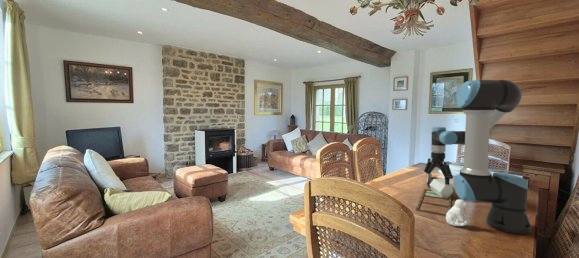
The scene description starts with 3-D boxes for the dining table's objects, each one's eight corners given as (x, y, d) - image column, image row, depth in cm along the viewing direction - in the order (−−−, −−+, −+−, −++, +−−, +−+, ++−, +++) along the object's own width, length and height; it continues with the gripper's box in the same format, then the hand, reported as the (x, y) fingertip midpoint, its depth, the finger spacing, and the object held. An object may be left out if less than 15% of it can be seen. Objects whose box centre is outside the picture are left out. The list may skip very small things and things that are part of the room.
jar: (456, 188, 149) (441, 179, 160) (447, 182, 146) (432, 174, 158) (446, 200, 150) (432, 190, 161) (437, 195, 148) (424, 185, 159)
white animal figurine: (448, 220, 118) (448, 195, 117) (470, 226, 112) (471, 199, 111) (444, 224, 113) (444, 198, 113) (466, 230, 107) (467, 203, 106)
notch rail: (454, 217, 121) (455, 205, 121) (415, 210, 130) (416, 198, 130) (455, 194, 157) (455, 184, 157) (424, 190, 166) (424, 181, 166)
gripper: (460, 154, 143) (459, 192, 144) (428, 149, 167) (427, 181, 168) (449, 155, 142) (448, 192, 142) (418, 149, 166) (417, 181, 167)
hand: (437, 186), depth 155 cm, fingers open, 13 cm apart
